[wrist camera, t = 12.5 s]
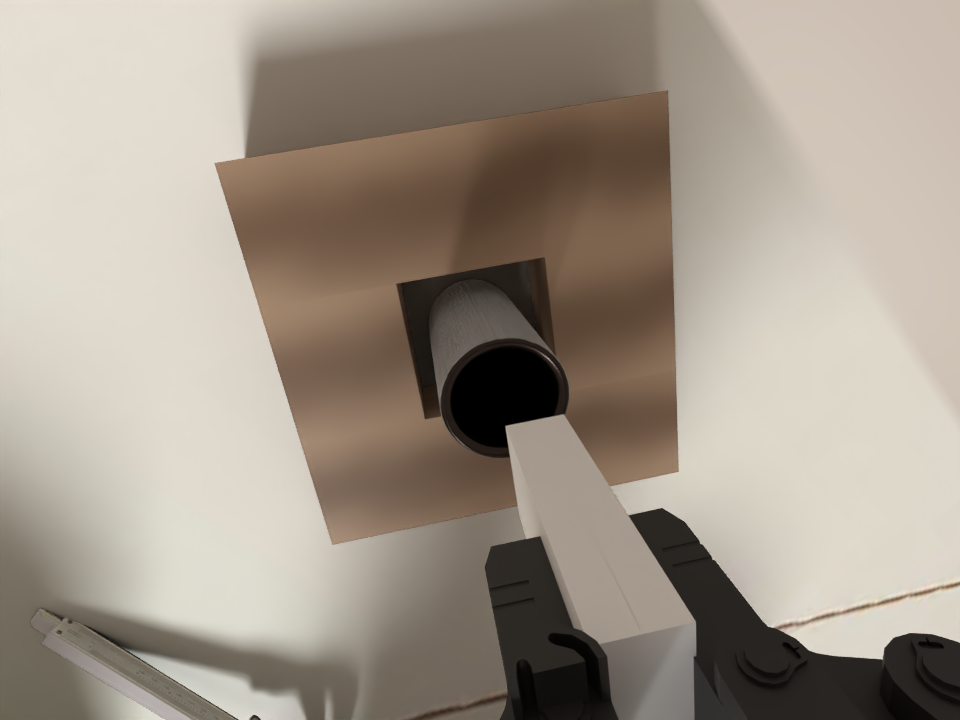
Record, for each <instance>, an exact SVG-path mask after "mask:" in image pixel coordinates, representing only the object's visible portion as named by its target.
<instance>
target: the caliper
mask: <svg viewBox="0 0 960 720" xmlns="http://www.w3.org/2000/svg"><path fill="white" fill-rule="evenodd" d="M30 623H31V624H33V625H32V627H33V628H34V629H36V630H37V631H39V632H41V633H42V634H44V635H46V638H45V639H44V641H43V642H42V643H41V644H42V645H44V646H46V647H47V648H49V649H51V650H52V651H54V652H55V653H57V654H59V655H60V656H62V657H64V658H65V659H67V660H68V661H70V662H72V663H73V664H75V665H77V666H78V667H80V668H82V669H83V670H85V671H86V672H88V673H90V674H91V675H93V676H95V677H96V678H98V679H99V680H101V681H103V682H104V683H106V684H108V685H109V686H111V687H113V688H114V689H116V690H118V691H119V692H121V693H122V694H124V695H126V696H127V697H129V698H131V699H132V700H134V701H136V702H137V703H139V704H141V705H142V706H144V707H146V708H147V709H149V710H151V711H152V712H154V713H155V714H157V715H159V716H160V717H162V718H164V719H165V720H238V719H237V718H235V717H233V716H232V715H230V714H228V713H227V712H225V711H224V710H222V709H220V708H219V707H217V706H215V705H214V704H212V703H211V702H209V701H207V700H206V699H204V698H202V697H201V696H199V695H198V694H196V693H194V692H193V691H191V690H189V689H188V688H186V687H185V686H183V685H181V684H180V683H178V682H176V681H175V680H173V679H172V678H170V677H168V676H167V675H165V674H164V673H162V672H160V671H159V670H157V669H156V668H154V667H152V666H151V665H149V664H148V663H146V662H144V661H143V660H141V659H140V658H138V657H136V656H135V655H133V654H132V653H130V652H129V651H127V650H125V649H124V648H122V647H121V646H119V645H117V644H116V643H114V642H113V641H111V640H109V639H108V638H106V637H105V636H103V635H102V634H100V633H98V632H97V631H95V630H94V629H92V628H90V627H88V626H85V625H83V624H80V623H78V622H75V621H73V620H70V619H68V618H66V617H65V618H64V619H62V620H61V619H59V618H57V617H56V616H54V615H53V614H51V613H50V612H48V611H46V610H44V609H39V610H38V611H37V612H36V614H35V615H34V617H33V618H32V620H31V622H30ZM249 720H261V719H260V718H259V717H257V716H256V715H253V716H252V717H251V718H250V719H249Z"/></svg>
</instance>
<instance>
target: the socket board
mask: <svg viewBox="0 0 960 720" xmlns="http://www.w3.org/2000/svg"><path fill="white" fill-rule="evenodd" d="M215 166H216V169H217V173H218V176H219V179H220V182H221V186H222V189H223V192H224V195H225V199H226V202H227V205H228V208H229V212H230V215H231V218H232V221H233V224H234V228H235V231H236V234H237V237H238V241H239V244H240V247H241V250H242V254H243V257H244V260H245V263H246V267H247V270H248V273H249V276H250V280H251V283H252V286H253V289H254V292H255V296H256V299H257V302H258V305H259V309H260V312H261V315H262V318H263V322H264V325H265V328H266V331H267V335H268V338H269V341H270V344H271V347H272V351H273V354H274V357H275V360H276V364H277V367H278V370H279V373H280V377H281V380H282V383H283V386H284V390H285V393H286V396H287V399H288V403H289V406H290V409H291V412H292V415H293V419H294V422H295V425H296V428H297V432H298V435H299V438H300V441H301V445H302V448H303V451H304V454H305V458H306V461H307V464H308V467H309V471H310V474H311V477H312V480H313V483H314V487H315V490H316V493H317V496H318V500H319V503H320V506H321V509H322V513H323V516H324V519H325V522H326V526H327V529H328V532H329V535H330V539H331V542H332V545H334V544H339V543H343V542H348V541H353V540H358V539H362V538H367V537H372V536H377V535H381V534H386V533H391V532H395V531H400V530H405V529H410V528H414V527H419V526H424V525H429V524H433V523H438V522H443V521H448V520H452V519H457V518H462V517H466V516H471V515H476V514H481V513H485V512H490V511H495V510H500V509H504V508H509V507H514V506H518V505H517V498H516V492H515V485H514V479H513V472H512V466H511V460H510V458H489V457H485V456H481V455H478V454H475V453H473V452H471V451H469V450H467V449H466V448H464V447H463V446H461V445H460V444H459V443H458V442H457V441H456V440H455V439H454V438H453V437H452V436H451V434H450V433H449V432H448V430H447V428H446V426H445V424H444V422H443V419H442V416H441V411H440V405H439V398H438V391H437V384H436V385H431V386H426V387H422V382H421V378H420V373H419V368H418V363H417V359H416V354H415V349H414V344H413V339H412V335H411V330H410V325H409V320H408V316H407V311H406V306H405V301H404V296H403V292H402V287H401V283H403V282H409V281H415V280H420V279H426V278H431V277H437V276H442V275H448V274H454V273H459V272H465V271H470V270H476V269H481V268H487V267H493V266H498V265H504V264H509V263H515V262H520V261H526V260H528V268H529V276H530V284H531V292H532V300H533V309H534V317H535V325H536V332H537V334H538V335H539V336H540V337H541V339H542V340H543V341H544V342H545V344H546V345H547V346H548V347H549V349H550V350H551V351H552V352H553V354H554V355H555V356H556V357H557V359H558V360H559V361H560V363H561V364H562V366H563V368H564V370H565V372H566V375H567V378H568V382H569V389H570V398H569V405H568V409H567V412H566V415H565V417H566V418H567V420H568V422H569V423H570V425H571V426H572V428H573V429H574V431H575V433H576V434H577V436H578V437H579V439H580V440H581V442H582V444H583V445H584V447H585V448H586V450H587V451H588V453H589V455H590V456H591V458H592V459H593V461H594V462H595V464H596V466H597V467H598V469H599V470H600V472H601V473H602V475H603V477H604V478H605V480H606V481H607V483H608V484H609V486H613V485H618V484H623V483H627V482H632V481H637V480H642V479H646V478H651V477H656V476H661V475H665V474H670V473H675V472H679V469H678V433H677V397H676V361H675V325H674V290H673V254H672V218H671V182H670V146H669V110H668V91H662V92H655V93H649V94H643V95H637V96H630V97H624V98H618V99H612V100H605V101H599V102H593V103H587V104H581V105H574V106H568V107H562V108H556V109H549V110H543V111H537V112H531V113H524V114H518V115H512V116H506V117H499V118H493V119H487V120H481V121H475V122H468V123H462V124H456V125H450V126H443V127H437V128H431V129H425V130H418V131H412V132H406V133H400V134H393V135H387V136H381V137H375V138H369V139H362V140H356V141H350V142H344V143H337V144H331V145H325V146H319V147H312V148H306V149H300V150H294V151H287V152H281V153H275V154H269V155H263V156H256V157H250V158H244V159H238V160H231V161H225V162H219V163H215Z"/></svg>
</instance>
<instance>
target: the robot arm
mask: <svg viewBox="0 0 960 720" xmlns="http://www.w3.org/2000/svg"><path fill="white" fill-rule="evenodd" d="M505 427H506V434H507V440H508V447H509V453H510V460H511V466H512V472H513V479H514V485H515V492H516V498H517V505H518V511H519V517H520V520H521V523H522V526H523V529H524V532H525V536H526V539H524V540H520V541H515V542H510V543H506V544H501V545H496V546H492V547H491V549H490V552H489V556H488V559H487V562H486V565H485V571H486V577H487V582H488V587H489V592H490V598H491V603H492V608H493V614H494V619H495V624H496V629H497V634H498V640H499V645H500V650H501V655H502V660H503V665H504V670H505V675H506V681H507V689H508V696H507V701H506V706H505V710H504V712H503V714H502V716H501V718H500V720H960V643H959V642H956V641H953V640H949V639H946V638H943V637H939V636H936V635H933V634H917V633H909V634H906V635H902V636H899V637H895V638H893V639H892V640H891V642H890V643H889V644H888V645H887V646H886V647H885V649H884V655H883V660H881V659H867V658H853V657H839V656H830V655H824V654H817V653H814V652H811V651H809V650H807V649H806V648H805V647H804V646H803V645H802V644H801V643H800V642H799V641H798V640H796V639H795V638H793V637H791V636H789V635H787V634H785V633H784V632H782V631H780V630H778V629H775V628H771V627H768V626H767V625H766V624H765V623H764V622H763V621H762V620H761V619H760V618H759V616H758V615H757V614H756V612H755V611H754V610H753V609H752V607H751V606H750V605H749V604H748V602H747V601H746V600H745V598H744V597H743V596H742V595H741V593H740V592H739V591H738V590H737V588H736V587H735V586H734V584H733V583H732V582H731V581H730V579H729V578H728V577H727V575H726V574H725V573H724V572H723V570H722V569H721V568H720V567H719V565H718V564H717V563H716V561H715V560H712V557H711V555H710V554H709V553H708V551H707V550H706V549H705V547H704V546H703V545H702V544H701V545H700V542H699V540H698V538H697V537H696V536H695V535H694V533H693V532H692V531H691V530H690V528H689V527H688V526H687V524H686V523H685V522H684V521H682V520H681V519H679V518H677V517H676V516H674V515H673V514H671V513H669V512H668V511H666V510H664V509H663V508H661V509H656V510H651V511H647V512H642V513H637V514H633V515H628V514H627V513H626V511H625V510H624V508H623V506H622V505H621V503H620V502H619V500H618V499H617V497H616V495H615V494H614V492H613V491H612V489H611V488H610V486H609V484H608V483H607V481H606V480H605V478H604V477H603V475H602V473H601V472H600V470H599V469H598V467H597V466H596V464H595V462H594V461H593V459H592V458H591V456H590V455H589V453H588V451H587V450H586V448H585V447H584V445H583V444H582V442H581V440H580V439H579V437H578V436H577V434H576V433H575V431H574V429H573V428H572V426H571V425H570V423H569V422H568V420H567V418H566V417H565V415H564V414H563V415H558V416H553V417H548V418H543V419H538V420H533V421H528V422H523V423H518V424H513V425H508V426H505Z"/></svg>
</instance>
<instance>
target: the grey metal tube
mask: <svg viewBox="0 0 960 720" xmlns="http://www.w3.org/2000/svg"><path fill="white" fill-rule="evenodd" d="M429 334H430V341H431V348H432V356H433V363H434V370H435V377H436V384H437V391H438V398H439V405H440V411H441V416H442V419H443V422H444V424H445V426H446V428H447V430H448V432H449V433H450V434H451V436H452V437H453V438H454V439H455V440H456V441H457V442H458V443H459V444H460V445H461V446H463V447H464V448H466V449H467V450H469V451H471V452H473V453H475V454H478V455H481V456H485V457H489V458H510V453H509V447H508V440H507V434H506V427H505V426H508V425H513V424H518V423H523V422H528V421H533V420H538V419H543V418H548V417H553V416H558V415H563V414H564V415H566V412H567V409H568V405H569V398H570V389H569V382H568V378H567V375H566V372H565V370H564V368H563V366H562V364H561V363H560V361H559V360H558V359H557V357H556V356H555V355H554V354H553V352H552V351H551V350H550V349H549V347H548V346H547V345H546V344H545V342H544V341H543V340H542V339H541V337H540V336H539V335H538V334H537V332H536V331H535V330H534V329H533V327H532V326H531V325H530V324H529V322H528V321H527V320H526V319H525V317H524V316H523V315H522V314H521V312H520V311H519V310H518V309H517V307H516V306H515V305H514V304H513V302H512V301H511V300H510V299H509V297H508V296H507V295H506V294H505V293H504V292H503V291H502V290H500V289H499V288H498V287H496V286H495V285H493V284H491V283H489V282H486V281H482V280H473V279H472V280H464V281H460V282H457V283H455V284H452V285H451V286H449V287H448V288H446V289H445V290H444V291H443V292H441V294H440V295H439V296H438V297H437V298H436V300H435V302H434V303H433V306H432V308H431V311H430V315H429Z"/></svg>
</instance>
